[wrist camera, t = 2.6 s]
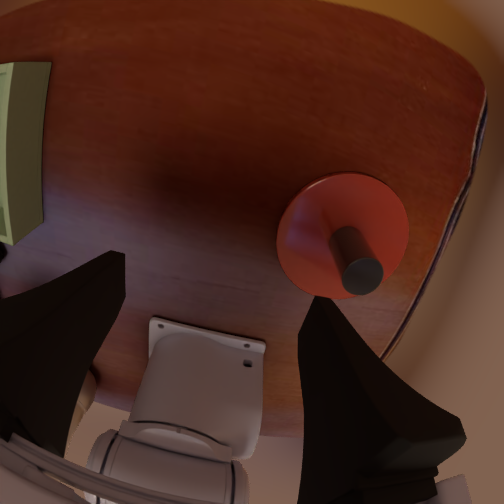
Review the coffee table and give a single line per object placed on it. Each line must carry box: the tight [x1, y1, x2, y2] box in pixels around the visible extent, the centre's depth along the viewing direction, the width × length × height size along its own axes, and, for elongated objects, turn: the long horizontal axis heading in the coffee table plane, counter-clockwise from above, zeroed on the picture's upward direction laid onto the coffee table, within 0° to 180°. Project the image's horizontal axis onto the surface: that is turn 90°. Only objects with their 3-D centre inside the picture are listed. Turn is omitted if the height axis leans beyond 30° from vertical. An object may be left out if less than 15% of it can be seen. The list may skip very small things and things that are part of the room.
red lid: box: [276, 172, 409, 299], centre depth 17 cm, size 9×9×5 cm
